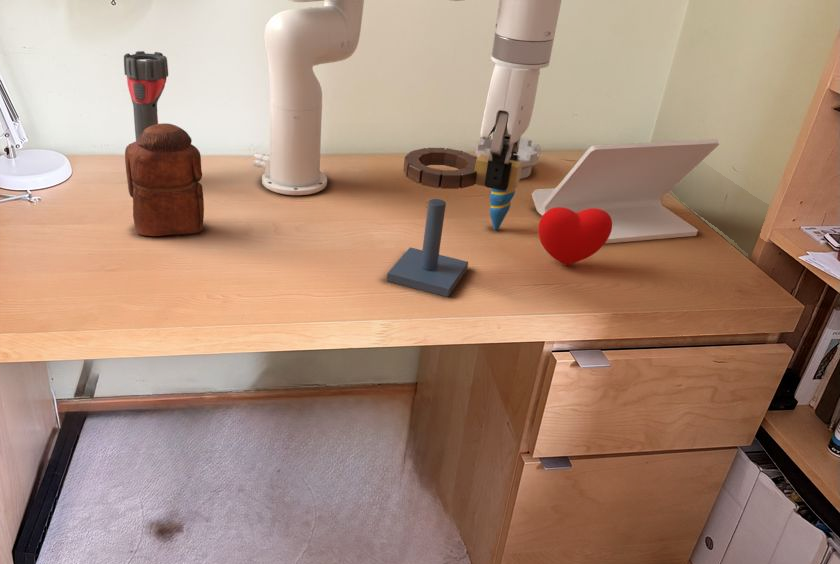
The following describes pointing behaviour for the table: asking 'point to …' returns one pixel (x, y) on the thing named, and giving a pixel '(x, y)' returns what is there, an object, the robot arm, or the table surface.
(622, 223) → the tablet stand
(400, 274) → the peg rack
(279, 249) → the table surface
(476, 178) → the walnut ring
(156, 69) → the flashlight
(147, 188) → the wooden figurine
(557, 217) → the heart
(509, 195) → the ornament
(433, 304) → the table surface
